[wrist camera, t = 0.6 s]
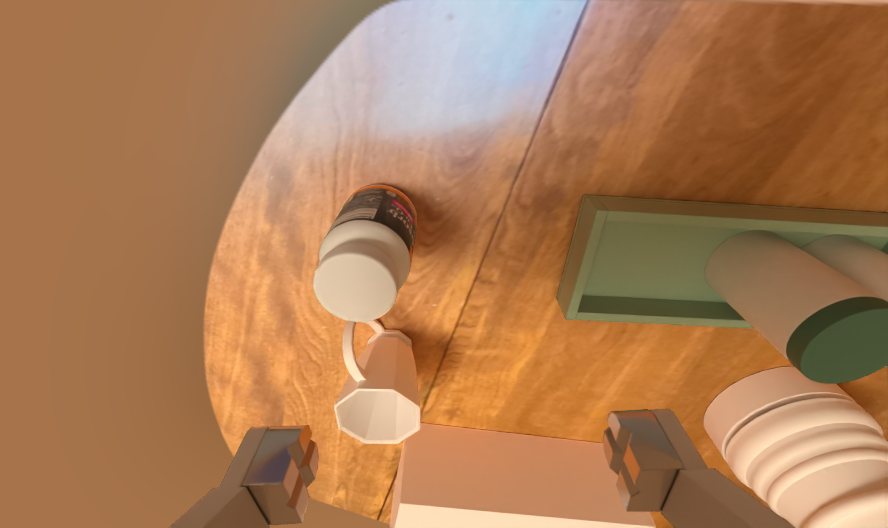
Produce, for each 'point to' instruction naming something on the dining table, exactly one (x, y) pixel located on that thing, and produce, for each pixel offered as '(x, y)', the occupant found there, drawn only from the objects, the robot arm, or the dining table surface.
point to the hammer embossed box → (506, 482)
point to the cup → (379, 388)
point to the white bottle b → (853, 261)
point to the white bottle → (802, 306)
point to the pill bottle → (366, 254)
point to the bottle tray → (679, 255)
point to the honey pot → (803, 449)
